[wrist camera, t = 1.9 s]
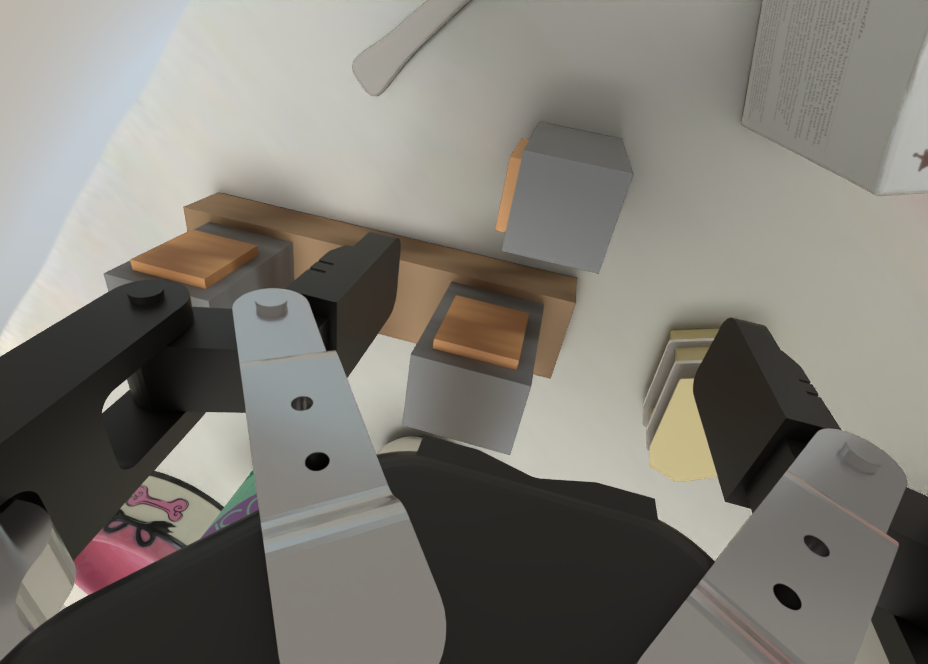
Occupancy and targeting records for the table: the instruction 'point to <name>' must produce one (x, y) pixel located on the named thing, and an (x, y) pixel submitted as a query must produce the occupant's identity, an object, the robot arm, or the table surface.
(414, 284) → the rail
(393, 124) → the table surface
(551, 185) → the grey block
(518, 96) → the table surface
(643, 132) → the table surface
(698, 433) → the stacked layers on plate
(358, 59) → the spoon
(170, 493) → the dog bowl
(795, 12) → the skincare box
